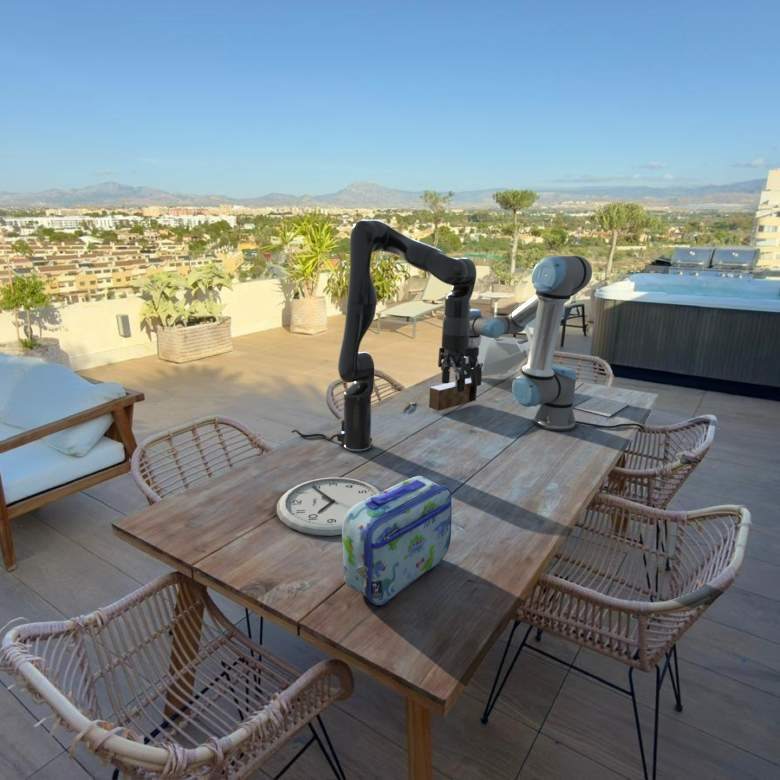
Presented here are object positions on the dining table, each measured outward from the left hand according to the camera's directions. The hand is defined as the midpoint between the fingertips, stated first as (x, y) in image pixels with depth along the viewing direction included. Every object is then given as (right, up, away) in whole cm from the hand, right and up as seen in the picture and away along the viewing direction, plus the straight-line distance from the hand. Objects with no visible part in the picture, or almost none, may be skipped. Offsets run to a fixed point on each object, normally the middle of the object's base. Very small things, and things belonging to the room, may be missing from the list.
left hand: (452, 387), depth 151 cm
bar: (+9, -7, +71) cm, 72 cm away
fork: (-10, -8, +71) cm, 72 cm away
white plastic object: (+39, +2, +106) cm, 113 cm away
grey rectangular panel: (+73, -8, +76) cm, 106 cm away
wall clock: (-34, -32, -8) cm, 47 cm away
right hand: (+15, -4, +76) cm, 78 cm away
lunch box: (-16, -42, -37) cm, 58 cm away
